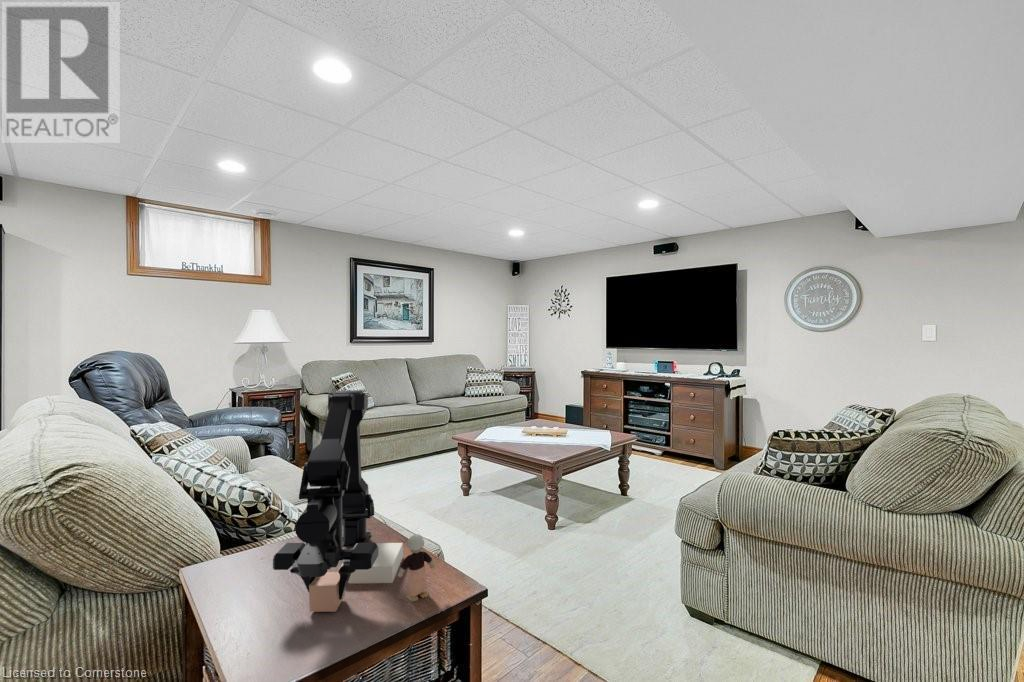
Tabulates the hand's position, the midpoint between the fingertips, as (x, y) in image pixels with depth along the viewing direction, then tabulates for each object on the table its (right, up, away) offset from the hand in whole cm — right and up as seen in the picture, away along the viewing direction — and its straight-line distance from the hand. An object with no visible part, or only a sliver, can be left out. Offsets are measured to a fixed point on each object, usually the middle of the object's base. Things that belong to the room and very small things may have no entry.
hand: (327, 598), depth 92 cm
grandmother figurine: (+17, -2, +4) cm, 17 cm away
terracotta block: (0, -1, 0) cm, 1 cm away
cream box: (+5, -2, +14) cm, 15 cm away
